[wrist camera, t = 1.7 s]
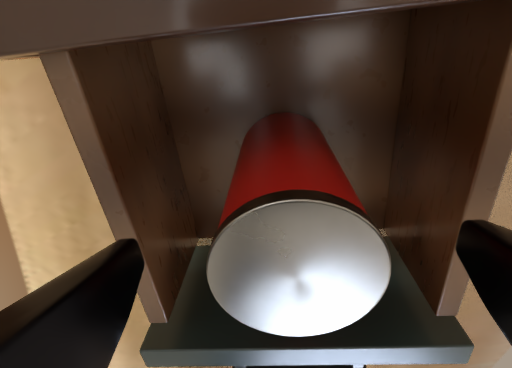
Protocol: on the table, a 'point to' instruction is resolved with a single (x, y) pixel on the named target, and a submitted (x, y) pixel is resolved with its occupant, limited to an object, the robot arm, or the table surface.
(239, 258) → the tin
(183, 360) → the drawer
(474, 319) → the table surface
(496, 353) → the table surface
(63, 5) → the desk unit
